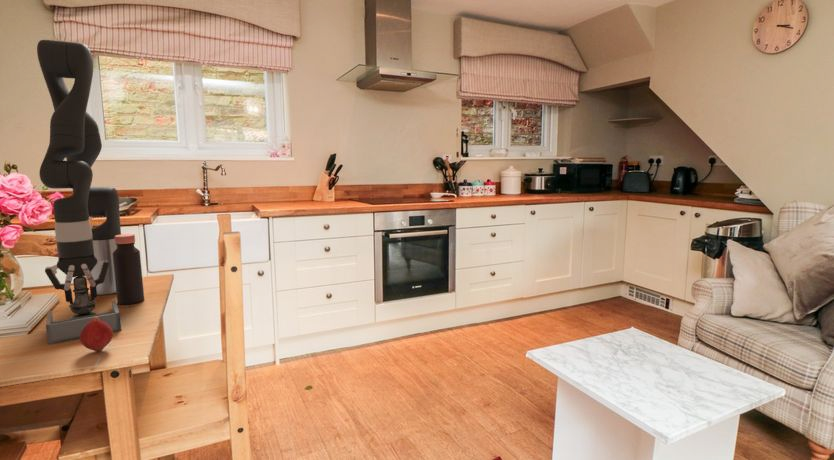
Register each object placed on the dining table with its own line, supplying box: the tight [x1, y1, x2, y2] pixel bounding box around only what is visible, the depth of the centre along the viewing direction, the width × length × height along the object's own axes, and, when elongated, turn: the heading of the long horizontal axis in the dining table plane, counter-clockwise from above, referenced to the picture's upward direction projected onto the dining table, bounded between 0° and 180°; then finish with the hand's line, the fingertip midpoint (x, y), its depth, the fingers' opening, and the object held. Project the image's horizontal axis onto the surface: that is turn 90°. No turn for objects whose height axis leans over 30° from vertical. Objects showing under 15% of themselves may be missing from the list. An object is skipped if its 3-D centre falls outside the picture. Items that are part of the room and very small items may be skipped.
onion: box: [79, 317, 114, 353], centre depth 98 cm, size 6×6×8 cm
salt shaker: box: [68, 276, 97, 318], centre depth 118 cm, size 6×6×12 cm
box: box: [45, 300, 122, 345], centre depth 110 cm, size 12×14×4 cm
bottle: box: [113, 233, 145, 306], centre depth 131 cm, size 7×7×20 cm
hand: (82, 301), depth 119 cm, fingers closed on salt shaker, 4 cm apart
